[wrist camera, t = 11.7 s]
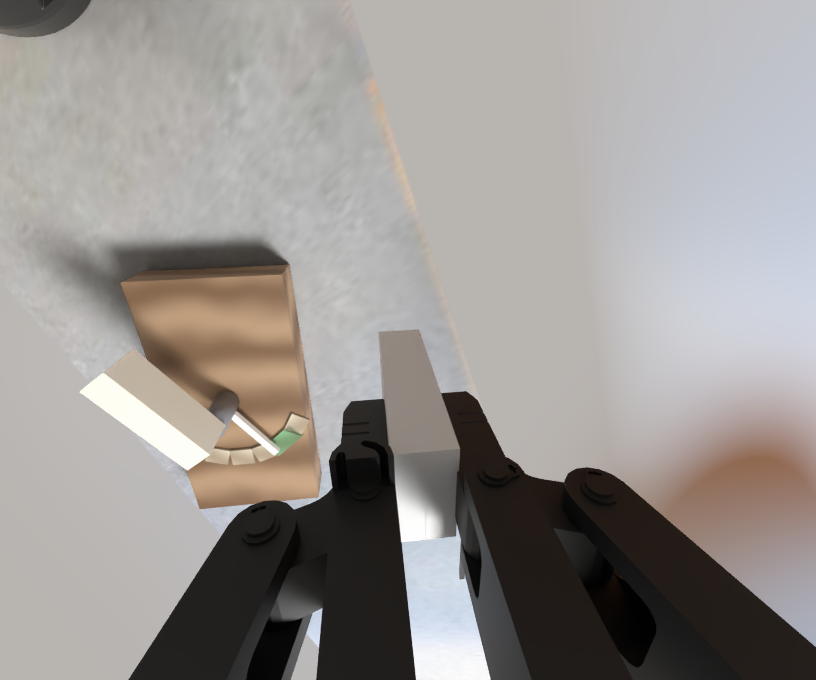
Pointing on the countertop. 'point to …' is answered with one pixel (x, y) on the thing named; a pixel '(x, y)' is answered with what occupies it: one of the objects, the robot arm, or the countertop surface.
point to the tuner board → (235, 373)
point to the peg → (167, 410)
